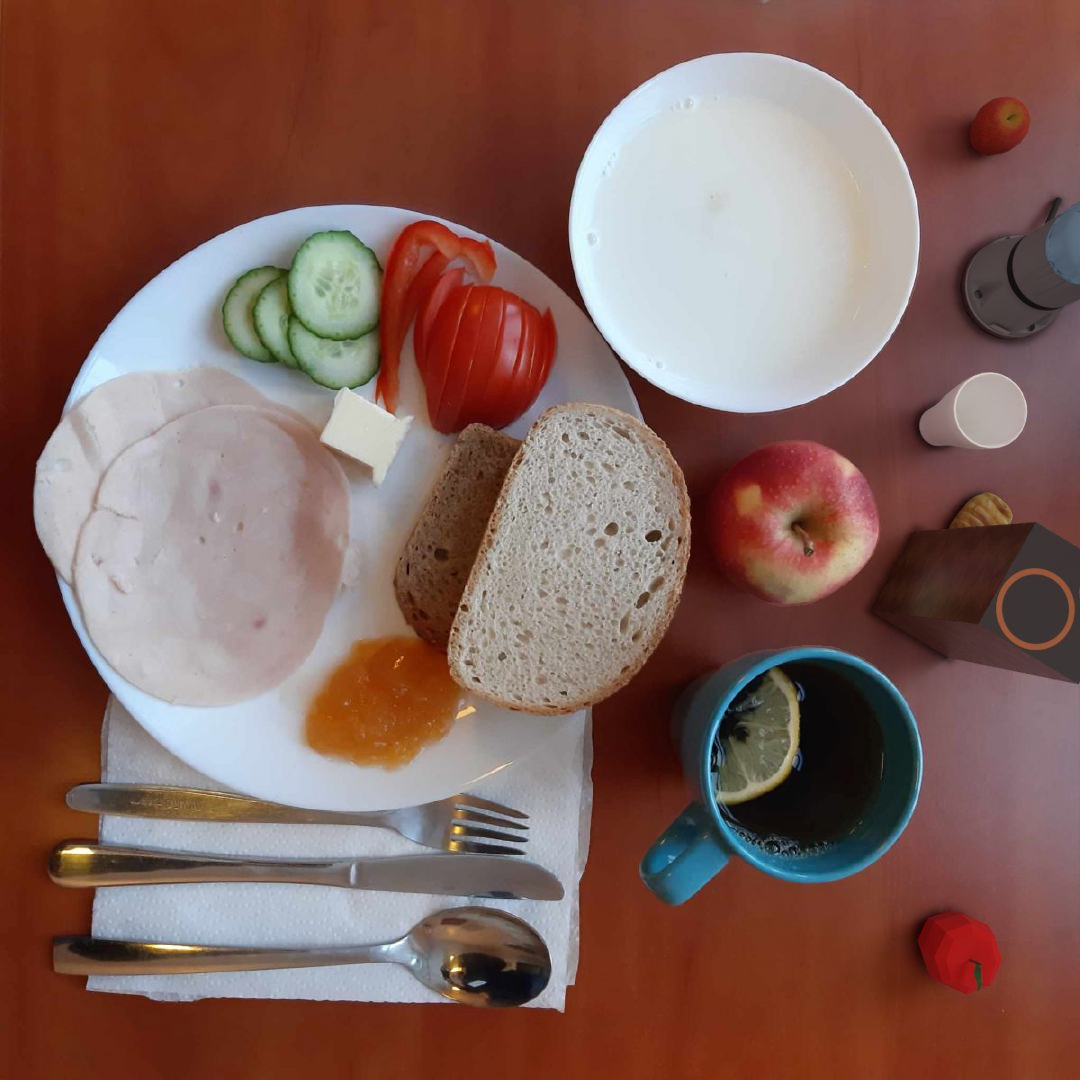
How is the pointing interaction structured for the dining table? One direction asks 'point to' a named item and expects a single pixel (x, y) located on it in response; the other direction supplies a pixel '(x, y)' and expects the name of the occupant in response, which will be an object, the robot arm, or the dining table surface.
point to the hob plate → (1041, 602)
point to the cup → (977, 414)
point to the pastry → (983, 512)
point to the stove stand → (958, 594)
